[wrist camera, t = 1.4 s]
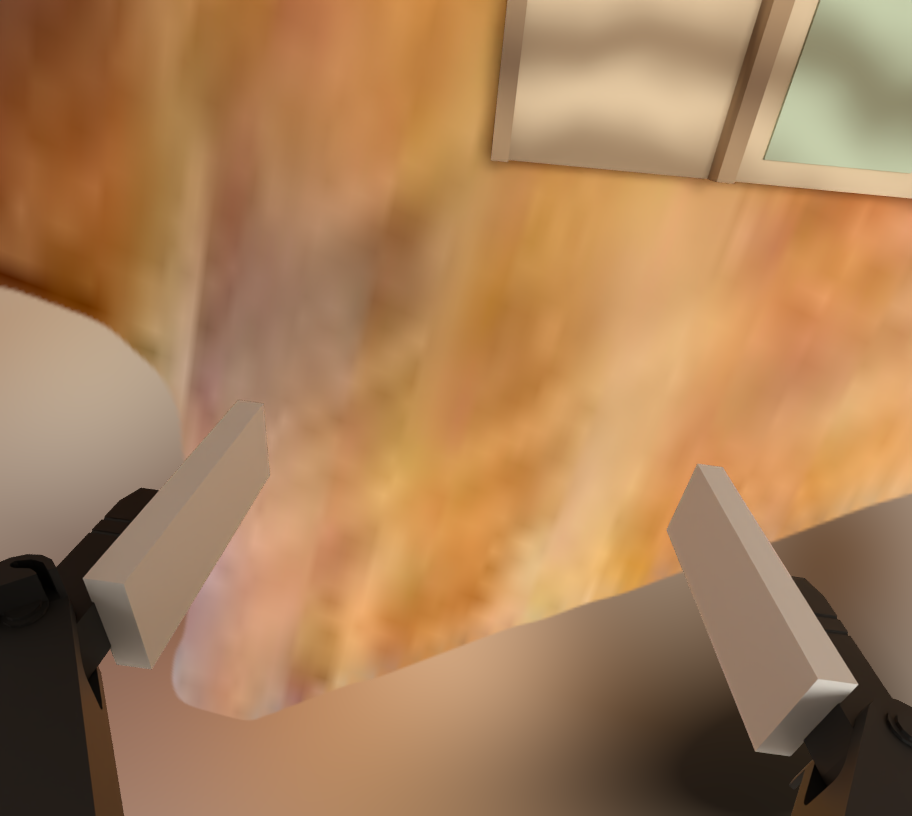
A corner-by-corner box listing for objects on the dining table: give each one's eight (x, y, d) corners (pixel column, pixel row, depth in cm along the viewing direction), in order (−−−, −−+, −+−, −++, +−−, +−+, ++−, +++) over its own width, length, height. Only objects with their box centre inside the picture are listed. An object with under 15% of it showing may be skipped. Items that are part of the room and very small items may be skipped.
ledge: (515, -77, 27) (517, -101, 24) (1295, -9, 26) (1401, -25, 23) (491, 155, 32) (490, 160, 29) (1131, 216, 31) (1198, 227, 28)
